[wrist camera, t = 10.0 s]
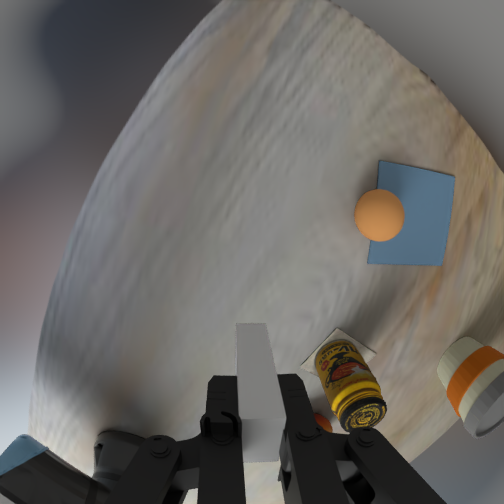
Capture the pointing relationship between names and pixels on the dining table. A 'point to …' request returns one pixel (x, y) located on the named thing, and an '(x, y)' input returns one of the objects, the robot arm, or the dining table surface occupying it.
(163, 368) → the dining table surface
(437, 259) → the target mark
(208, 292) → the dining table surface
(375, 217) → the ball
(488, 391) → the reusable coffee cup
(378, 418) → the condiment
